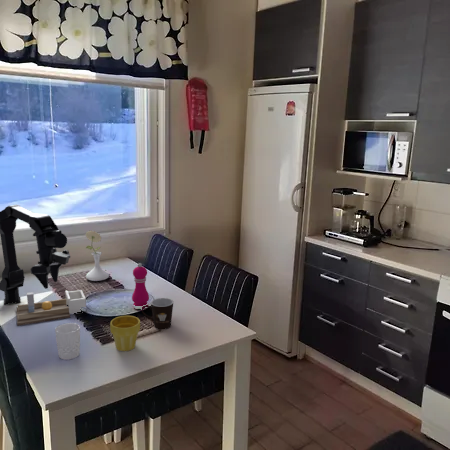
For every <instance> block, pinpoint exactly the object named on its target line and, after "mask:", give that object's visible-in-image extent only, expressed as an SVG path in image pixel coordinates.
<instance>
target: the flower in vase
mask: <svg viewBox="0 0 450 450" xmlns="http://www.w3.org/2000/svg"><path fill="white" fill-rule="evenodd" d="M85 237H86V238H87V239H88V240H89V241H90V242H91V244H90V245H86V247H85V249H88V250H93V252H91V253H90V254H91V255H92V256H93V259H94V267H93V268H92V269H91V270H89V271H88V273H87V274H86V275H85V278H86V279H87V280H89V281H91V282H92V281H93V282H98V281H104V280H106V279H108V278H109V277H110V273H109V272H108V271H106V269H103V268H102V267H101V265H100V264H101V263H100V259H101V255H102V253H103V252H101V251H98V250H99V249H101V246H98V247H96V248H95V249H94V247H93V243H99V242H101V240H102V236H101V234H100V233H98V232H96V231H95V230H89V231H86V232H85Z"/></svg>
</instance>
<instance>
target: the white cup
mask: <svg viewBox="0 0 450 450" xmlns="http://www.w3.org/2000/svg"><path fill="white" fill-rule="evenodd" d="M54 332H55V333H54V334H55V339H56V348H57V352H58V357H59V359H60V360H65V361H68V360H69V361H70V360H73V359H77V357H79V356H80V354H81V353H80V352H81V348H80V346H81V326H80V324H78V323H76V322H75V323H74V322H68V323H63V324H60V325H58V326H56V327H55V329H54Z"/></svg>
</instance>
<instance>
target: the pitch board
mask: <svg viewBox="0 0 450 450" xmlns="http://www.w3.org/2000/svg"><path fill="white" fill-rule="evenodd" d="M48 301H49V302H51V303H52V308H51V309H50V310H43V309H42V304H43V303H44V302H45V301H39V302H34V312H31V313H29V308H28V303H26V304H25V303H23V304H17V306H16V322H17V327H19V326H25V325H30V324H31V325H32V324H37V323H43V322H50V321H55V320H56V321H57V320H62V319H69V318H71V314H70V313H69V306H67V304H66V298H60V299H55V300H54V299H53V300H48Z"/></svg>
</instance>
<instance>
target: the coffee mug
mask: <svg viewBox="0 0 450 450" xmlns="http://www.w3.org/2000/svg"><path fill="white" fill-rule="evenodd" d="M150 303H151V304H150V305H149V304H148V305H146V306H143V307H142V310H141V313H142V314H143V316H145V317H147V318H148V319H150V320H152V322H153V327H154V328H155V329H156V330H160V331H161V330H167V329H170V328H171V326H172V325H171V324H172V320H173V319H172V316H173V310H174V309H173V308H174V300H173V299H171V298H168V297H159V298H155V299H152V300H151V302H150ZM145 307H148V308H149V309H150V311H151V312H152V317H151V316H150V315H148V314H146V313H145V312H144V310H143V309H144V308H145Z"/></svg>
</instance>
